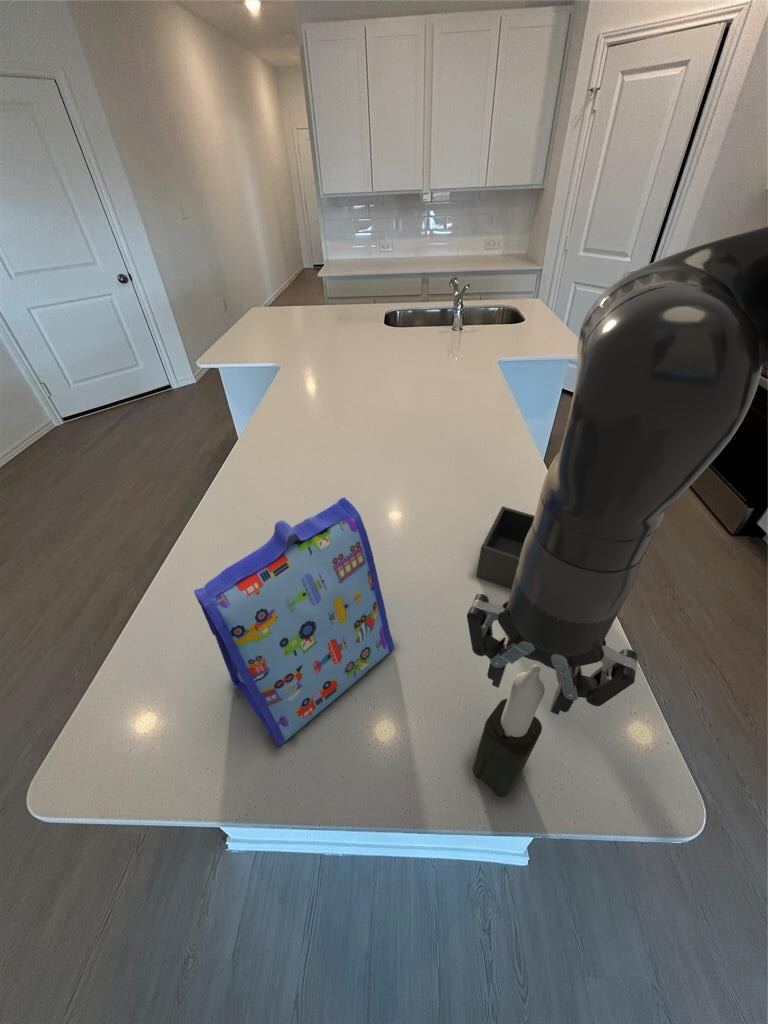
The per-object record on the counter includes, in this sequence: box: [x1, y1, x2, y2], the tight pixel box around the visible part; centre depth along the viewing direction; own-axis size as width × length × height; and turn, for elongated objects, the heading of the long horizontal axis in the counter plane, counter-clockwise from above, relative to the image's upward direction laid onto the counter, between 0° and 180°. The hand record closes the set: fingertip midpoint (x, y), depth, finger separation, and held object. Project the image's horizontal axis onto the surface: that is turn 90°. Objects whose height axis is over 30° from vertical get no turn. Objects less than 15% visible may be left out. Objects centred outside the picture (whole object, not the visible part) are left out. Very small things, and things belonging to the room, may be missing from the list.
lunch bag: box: [193, 497, 395, 747], centre depth 59 cm, size 22×14×29 cm, turn 133°
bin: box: [475, 505, 535, 591], centre depth 80 cm, size 12×12×8 cm
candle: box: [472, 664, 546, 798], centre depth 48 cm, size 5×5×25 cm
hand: (526, 691), depth 43 cm, fingers open, 5 cm apart
